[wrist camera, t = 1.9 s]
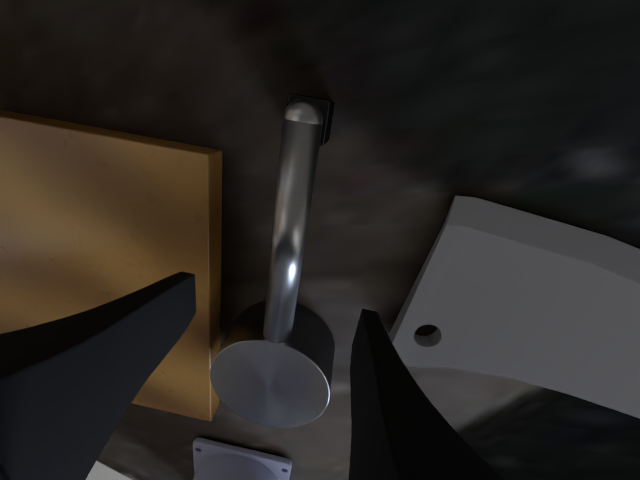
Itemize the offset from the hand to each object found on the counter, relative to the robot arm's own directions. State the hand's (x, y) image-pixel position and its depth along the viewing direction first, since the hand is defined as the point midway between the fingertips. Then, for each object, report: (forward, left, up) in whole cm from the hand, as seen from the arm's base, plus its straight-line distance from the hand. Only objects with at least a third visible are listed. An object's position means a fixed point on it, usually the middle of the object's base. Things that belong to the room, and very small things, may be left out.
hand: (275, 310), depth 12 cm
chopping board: (-4, +14, -4) cm, 15 cm away
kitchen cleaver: (-1, -18, -4) cm, 18 cm away
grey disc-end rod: (0, 0, -4) cm, 4 cm away
